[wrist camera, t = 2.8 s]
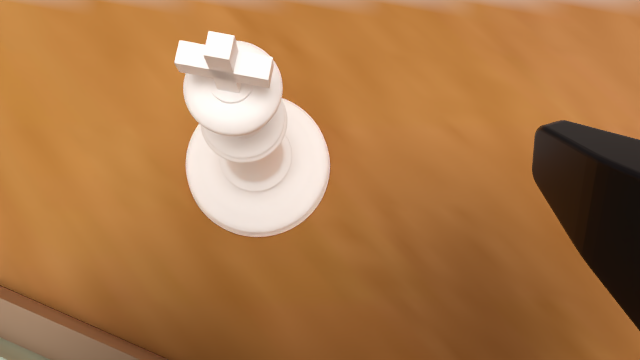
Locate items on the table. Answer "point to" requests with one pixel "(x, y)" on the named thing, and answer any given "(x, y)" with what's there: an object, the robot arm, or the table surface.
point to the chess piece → (248, 140)
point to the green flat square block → (56, 335)
